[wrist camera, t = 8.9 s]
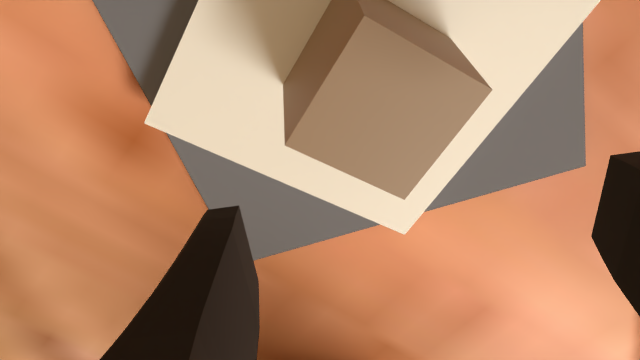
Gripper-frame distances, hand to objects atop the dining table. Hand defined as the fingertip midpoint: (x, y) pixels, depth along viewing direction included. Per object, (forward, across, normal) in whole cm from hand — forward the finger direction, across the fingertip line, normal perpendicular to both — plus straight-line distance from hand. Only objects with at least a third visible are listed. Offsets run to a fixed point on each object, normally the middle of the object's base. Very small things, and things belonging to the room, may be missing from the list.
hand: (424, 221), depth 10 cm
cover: (+9, 0, 0) cm, 9 cm away
